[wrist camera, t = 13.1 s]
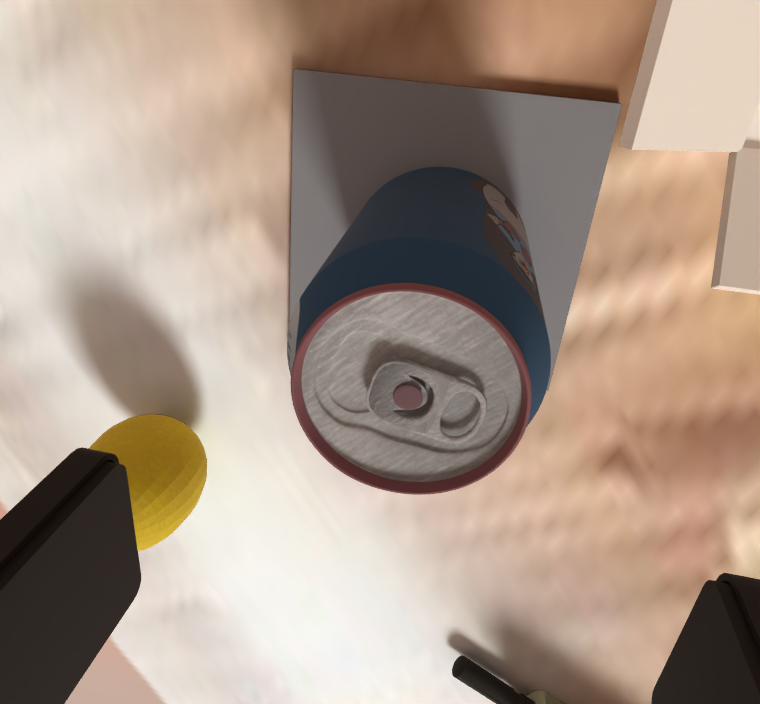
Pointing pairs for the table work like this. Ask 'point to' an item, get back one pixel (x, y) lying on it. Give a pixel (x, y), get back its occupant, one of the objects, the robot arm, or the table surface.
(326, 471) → the table surface
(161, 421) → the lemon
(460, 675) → the handheld radio
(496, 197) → the soda can
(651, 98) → the carton
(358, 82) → the mat
